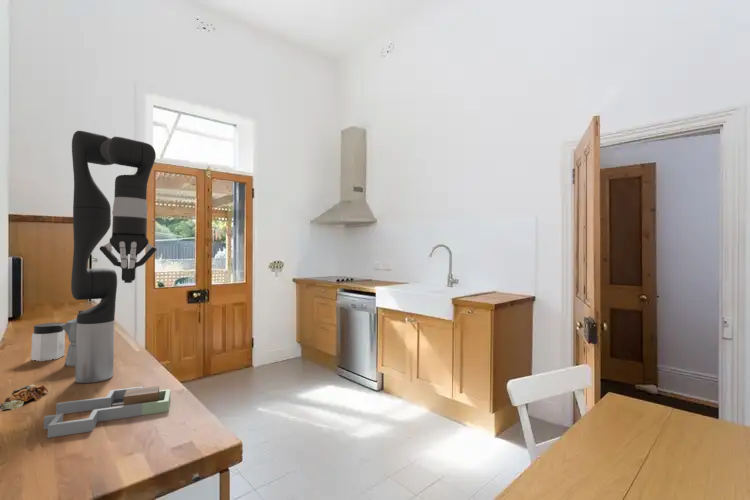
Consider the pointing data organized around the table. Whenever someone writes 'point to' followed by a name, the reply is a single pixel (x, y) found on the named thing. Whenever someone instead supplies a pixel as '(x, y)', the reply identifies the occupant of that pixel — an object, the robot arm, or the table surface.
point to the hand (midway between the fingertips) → (128, 282)
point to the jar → (48, 342)
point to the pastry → (23, 396)
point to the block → (141, 395)
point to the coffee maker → (71, 332)
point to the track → (101, 411)
